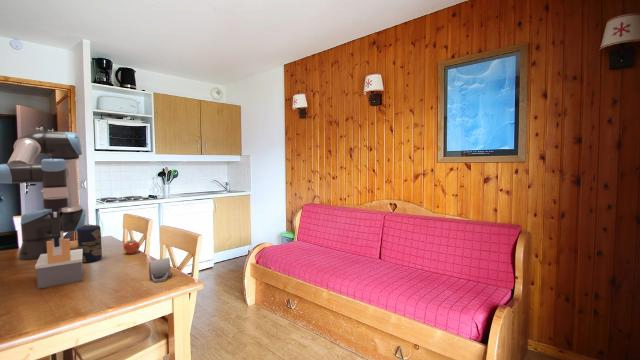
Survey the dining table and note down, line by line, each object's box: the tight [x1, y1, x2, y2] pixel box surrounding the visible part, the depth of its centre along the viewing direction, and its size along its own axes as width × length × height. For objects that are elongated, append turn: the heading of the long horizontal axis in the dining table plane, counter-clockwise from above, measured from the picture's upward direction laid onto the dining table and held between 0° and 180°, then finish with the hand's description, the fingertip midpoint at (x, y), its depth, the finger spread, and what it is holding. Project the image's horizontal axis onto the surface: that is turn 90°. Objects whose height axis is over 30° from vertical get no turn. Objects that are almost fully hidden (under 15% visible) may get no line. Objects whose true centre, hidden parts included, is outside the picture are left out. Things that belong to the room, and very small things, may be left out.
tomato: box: [123, 237, 140, 255], centre depth 172 cm, size 7×7×8 cm
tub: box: [35, 262, 84, 289], centre depth 137 cm, size 18×14×8 cm
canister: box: [76, 223, 103, 263], centre depth 160 cm, size 10×10×18 cm
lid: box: [34, 238, 83, 270], centre depth 136 cm, size 19×15×11 cm
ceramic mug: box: [148, 257, 172, 283], centre depth 136 cm, size 11×8×8 cm
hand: (58, 250), depth 130 cm, fingers open, 13 cm apart
